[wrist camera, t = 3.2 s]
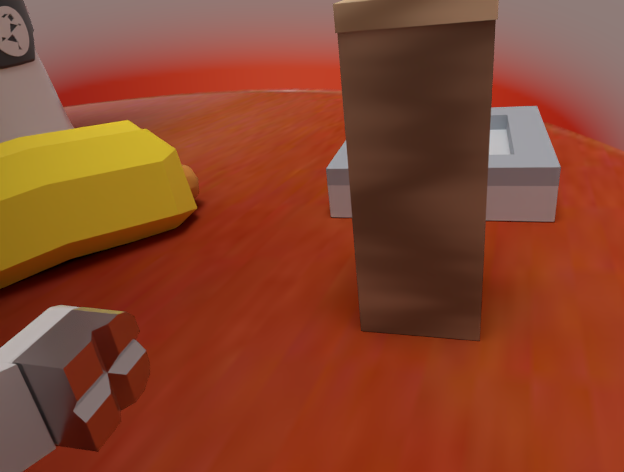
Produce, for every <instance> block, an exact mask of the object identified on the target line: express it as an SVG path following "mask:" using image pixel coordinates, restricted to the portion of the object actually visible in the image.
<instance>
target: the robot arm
mask: <svg viewBox="0 0 624 472" xmlns="http://www.w3.org/2000/svg"><path fill="white" fill-rule="evenodd" d="M28 14H29V12H28V9H27V7H26V6H25V4H24V1H23V0H0V143H2V142H5V141H9V140H12V139H15V138H18V137H24V136H30V135H36V134H43V133H49V132H55V131H62V130H68V129H74V127H73V125H72V123H71V122H70V120H69V118H68V116H67V114H66V112H65V110H64V108H63V106H62V104H61V102H60V100H59V98H58V96H57V93H56V92H55V89H54V87H53V85H52V83H51V81H50V79H49V76H48V74H47V72H46V70H45V68H44V66H43V64H42V62H41V60H40V58H39V56H38V54H37V52H36V49H35V47H34V38H33V31H34V30H33V27H32V24H31V21H30V18H29V15H28ZM139 332H140V330H139V327H138V325H137V322H136V319H135V317H134V316H133V315H131V314H129V313H127V312H123V311H114V310H105V309H96V308H87V307H74V306H65V305H58V306H54V307H50V308H48V309H47V310H46V311H45V312H43V313H42V314H41V315H40V316H39V317H37V318H36V319H35V320H34V321H33V322H31V323H30V324H29V325H28V326H26V327H25V328H24V329H23V330H22V331H20V332H19V333H18V334H17V335H15V336H14V337H13V338H12V339H11V340H9V341H8V342H7V343H6V344H5V345H3V346H2V347H1V348H0V472H23V471H24V470H25V469H27V468H28V467H30V466H31V465H33V464H34V463H36V462H37V461H38V460H40V459H41V458H43V457H44V456H46V455H47V454H49V453H50V452H52V451H53V450H54V449H56V446H62V447H69V448H75V449H82V450H89V451H96V452H98V451H99V450H100V449H101V447H102V446H103V445H104V443H105V442H106V441H107V439H108V438H109V437H110V436H111V434H112V433H113V432H114V430H115V429H116V428H117V426H118V425H119V424H120V422H121V410H123V409H125V408H127V407H128V406H130V405H132V404H134V403H135V402H136V401H137V400H138V399H139V397H140V396H141V394H142V393H143V392H144V390H145V387H146V384H147V381H148V378H149V375H150V364H149V358H148V355H147V352H146V350H145V349H144V348H143V347H142V346H141V345H140V344H139V343H138V342H137V341H136V338H137V336H138V334H139Z"/></svg>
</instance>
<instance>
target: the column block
mask: <svg viewBox="0 0 624 472" xmlns="http://www.w3.org/2000/svg"><path fill="white" fill-rule="evenodd" d="M498 1H499V0H343V1H340V2H337V3H335V4H333V9H334V21H335V33H338V44H339V58H340V71H341V84H342V96H343V109H344V121H345V134H346V146H347V159H348V171H349V184H350V196H351V209H352V222H353V234H354V247H355V259H356V272H357V284H358V297H359V309H360V322H361V331H369V332H380V333H392V334H404V335H416V336H428V337H440V338H451V339H463V340H475V341H480V324H481V303H482V283H483V263H484V243H485V223H486V203H487V182H488V162H489V142H490V122H491V101H492V80H493V61H494V41H495V40H494V39H495V20H496V19H498Z"/></svg>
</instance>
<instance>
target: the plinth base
mask: <svg viewBox="0 0 624 472" xmlns="http://www.w3.org/2000/svg"><path fill="white" fill-rule="evenodd" d="M560 169H561V167H560V164H559V162H558V159H557V157H556V154H555V151H554V149H553V146H552V144H551V141H550V139H549V136H548V134H547V131H546V128H545V126H544V123H543V121H542V118H541V116H540V113H539V111H538V108H537V106H525V107H498V108H491V122H490V142H489V162H488V182H487V203H486V220H494V221H541V222H554V220H555V212H556V203H557V194H558V186H559V177H560ZM326 173H327V183H328V193H329V203H330V213H331V217H351V218H352V209H351V196H350V184H349V171H348V159H347V146H346V141H345V142H344V144H343V145H342V146H341V148H340V149H339V151H338V152H337V154H336V155H335V157H334V158H333V160H332V161H331V162H330V164H329V165H328V167H327V168H326Z"/></svg>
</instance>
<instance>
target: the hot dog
mask: <svg viewBox="0 0 624 472" xmlns="http://www.w3.org/2000/svg"><path fill="white" fill-rule="evenodd" d="M198 194H199V186H198V178H197V176H196V175H195V174H194V172H193V171H192V169H191V168H190V167H188V166H187V165H181V162H180V160H179V157H178V154H177V151H176V149H175V148H173V147H172V146H170V145H169V144H167V143H166V142H165V141H163V140H162V139H160V138H159V137H157V136H156V135H154V134H153V133H151V132H150V131H148V130H147V129H141V128H139V127H138V126H136V125H135V124H133V123H132V122H130V121H129V120H125V121H119V122H112V123H106V124H100V125H93V126H87V127H81V128H74V129H68V130H62V131H55V132H49V133H43V134H36V135H30V136H24V137H18V138H15V139H12V140H9V141H5V142H2V143H0V289H1V288H4V287H6V286H8V285H11V284H13V283H15V282H18V281H20V280H22V279H25V278H27V277H29V276H32V275H34V274H37V273H39V272H41V271H44V270H46V269H48V268H51V267H53V266H55V265H58V264H60V263H62V262H65V261H67V260H70V259H73V258H76V257H80V256H83V255H87V254H91V253H94V252H98V251H101V250H105V249H109V248H112V247H116V246H119V245H123V244H127V243H130V242H134V241H137V240H140V239H143V238H146V237H150V236H153V235H156V234H159V233H162V232H165V231H168V230H172V229H175V228H177V227H178V226H180V225H181V224H182V223H183V222H184V221H185V220H186V219H187V218H188V217H189V216H190V215H191V214H192V213H193V212H194V211H195V210H196V209H197V206H196V203H195V200H194V198H196V197H197V195H198Z"/></svg>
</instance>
